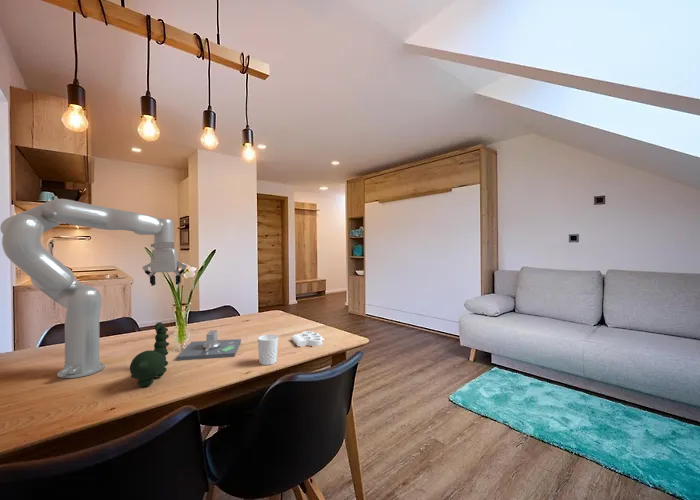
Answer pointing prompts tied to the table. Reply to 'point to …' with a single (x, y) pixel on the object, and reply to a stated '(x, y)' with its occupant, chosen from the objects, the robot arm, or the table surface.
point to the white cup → (267, 349)
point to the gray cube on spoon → (211, 341)
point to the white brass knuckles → (307, 338)
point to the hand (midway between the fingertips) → (165, 284)
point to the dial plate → (197, 351)
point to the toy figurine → (151, 359)
